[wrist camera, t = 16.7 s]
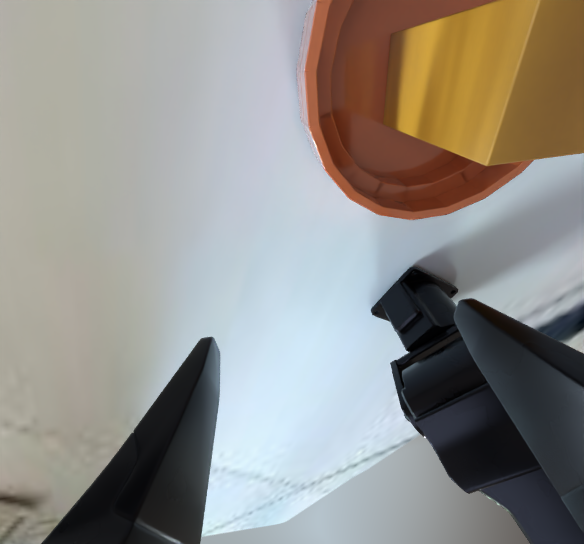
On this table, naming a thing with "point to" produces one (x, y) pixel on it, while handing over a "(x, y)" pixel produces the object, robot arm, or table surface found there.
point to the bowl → (379, 113)
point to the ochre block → (492, 81)
